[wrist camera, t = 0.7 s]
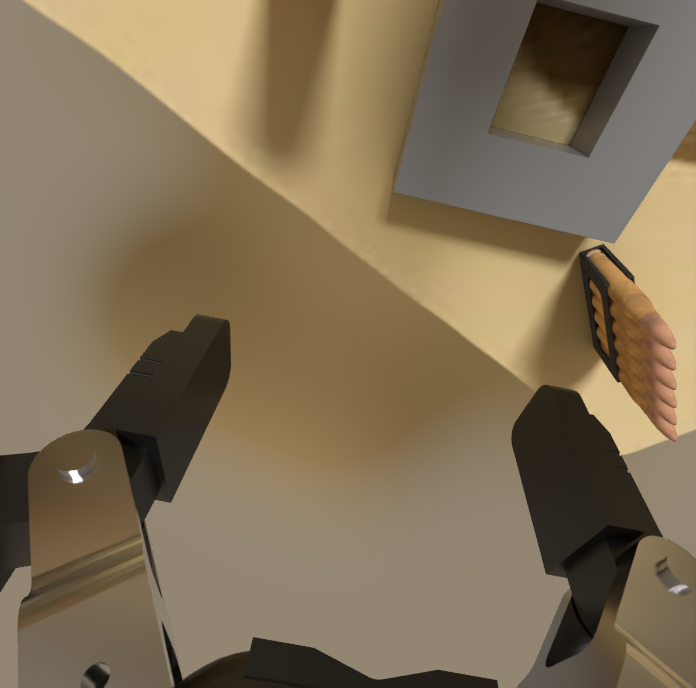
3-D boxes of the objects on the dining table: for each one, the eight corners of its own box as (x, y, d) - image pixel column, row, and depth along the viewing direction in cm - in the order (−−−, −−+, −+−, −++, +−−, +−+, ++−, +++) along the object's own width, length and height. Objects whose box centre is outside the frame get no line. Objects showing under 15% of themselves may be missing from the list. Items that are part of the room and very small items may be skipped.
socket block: (476, -145, 20) (489, -173, 17) (769, -64, 21) (826, -80, 18) (393, 178, 30) (393, 192, 27) (594, 225, 31) (614, 243, 28)
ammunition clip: (578, 251, 32) (654, 341, 23) (603, 243, 32) (693, 331, 22) (593, 347, 38) (660, 452, 28) (615, 342, 37) (691, 446, 28)
